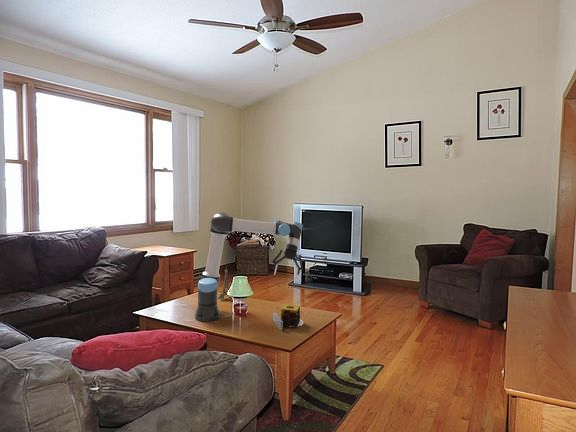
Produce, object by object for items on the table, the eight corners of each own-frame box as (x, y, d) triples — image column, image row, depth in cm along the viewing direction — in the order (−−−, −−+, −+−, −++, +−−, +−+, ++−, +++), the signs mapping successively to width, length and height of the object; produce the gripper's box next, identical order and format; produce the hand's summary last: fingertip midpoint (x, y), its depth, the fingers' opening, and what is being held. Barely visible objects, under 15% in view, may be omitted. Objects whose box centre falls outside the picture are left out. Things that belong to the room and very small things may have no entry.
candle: (297, 327, 231) (297, 310, 230) (280, 325, 233) (280, 309, 232) (300, 321, 241) (300, 305, 240) (284, 320, 243) (284, 304, 242)
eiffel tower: (219, 301, 280) (220, 266, 279) (217, 297, 290) (217, 263, 288) (234, 300, 284) (235, 266, 282) (231, 296, 294) (232, 263, 292)
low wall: (280, 330, 227) (280, 322, 227) (273, 320, 244) (273, 312, 244) (282, 330, 227) (282, 321, 227) (275, 320, 245) (275, 312, 244)
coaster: (283, 327, 232) (283, 326, 232) (277, 319, 245) (277, 318, 245) (306, 326, 235) (306, 325, 235) (299, 318, 249) (299, 317, 249)
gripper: (310, 250, 262) (303, 282, 256) (274, 242, 264) (266, 273, 258) (311, 248, 255) (304, 280, 249) (273, 239, 257) (265, 271, 251)
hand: (284, 277), depth 254 cm, fingers open, 13 cm apart
